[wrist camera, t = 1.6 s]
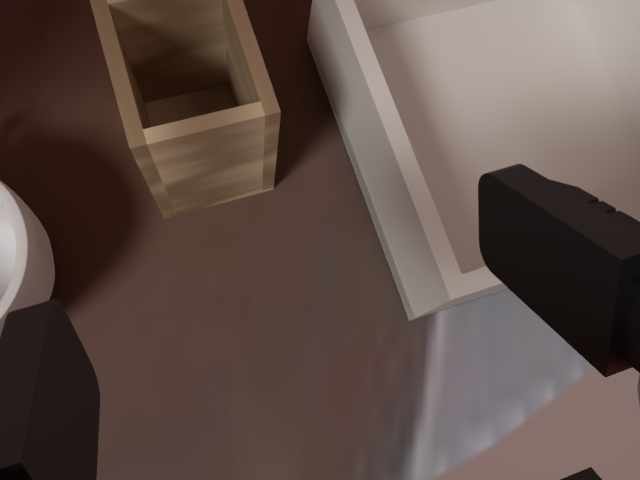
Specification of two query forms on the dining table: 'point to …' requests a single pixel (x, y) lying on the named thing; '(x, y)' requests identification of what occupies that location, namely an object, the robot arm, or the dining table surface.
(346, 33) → the big plastic crate
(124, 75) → the small wooden crate
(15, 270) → the teacup
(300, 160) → the dining table surface
